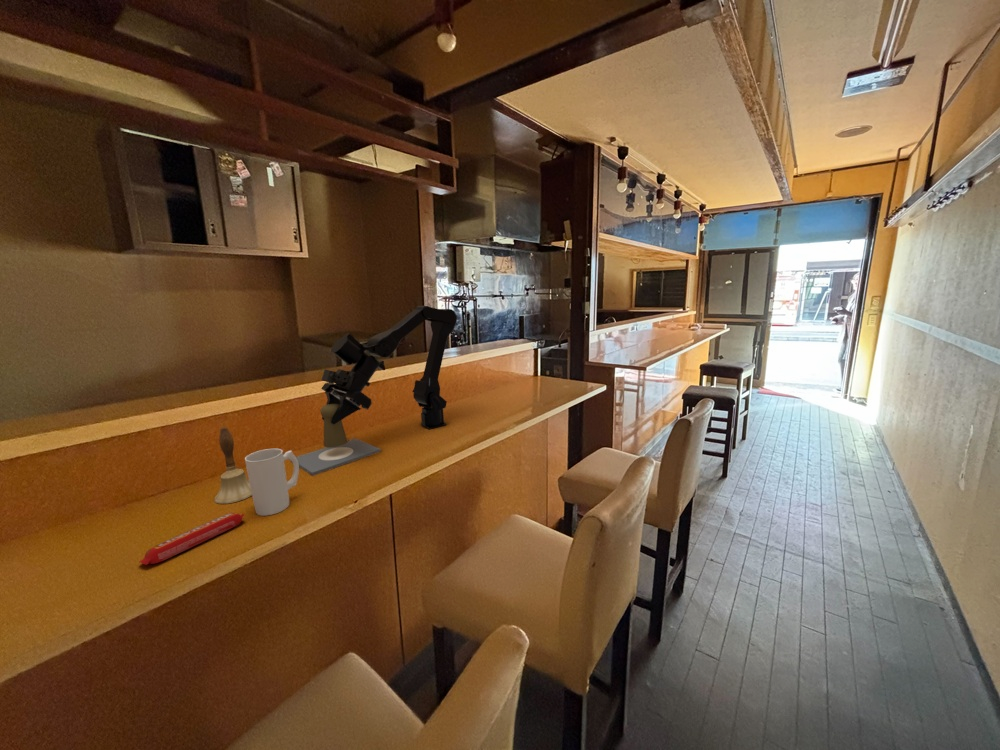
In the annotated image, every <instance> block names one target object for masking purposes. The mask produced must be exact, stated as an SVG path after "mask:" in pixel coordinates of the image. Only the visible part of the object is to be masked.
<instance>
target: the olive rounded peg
mask: <svg viewBox="0 0 1000 750" xmlns="http://www.w3.org/2000/svg"><path fill="white" fill-rule="evenodd" d="M338 407H339V405H338V404H328V405H326V404H325V405H323V406H322V407H321V409H320V415H321V418H322V417H323V418H324V420H323V446H324V448H326V447H338V446H341V445H344V444H346V443H347V441H348V438H347V435H346V432H345V428H344V424H343V421H342V420H340V421H339V422H337V423H336V424H332V423H331V420H332V418H333V416H334V414H335V412H336V410H337V409H338Z"/></svg>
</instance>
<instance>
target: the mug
mask: <svg viewBox="0 0 1000 750" xmlns="http://www.w3.org/2000/svg"><path fill="white" fill-rule="evenodd" d="M296 457H297V456H296V455H295V454H294V453H293V450H288V451H286V452H284V450H283V449H281V448H277V447H276V448H267V449H260V450H257V451H254V452H252V453H250V454H247V455H246V456H245V457H244V461H245V467H246V473H247V476H248V478H247V479H248V481H249V482H250V487H251V492H252V496H251V497H252V501H253V506H254V509H255V513H256V515H258V516H265V517H266V516H272V515H275V514H279V513H281V512H283V511H285V510H286V509H287V508H288V507H289V506H290V496H289V490H290V489H291V488H294V487H295V486H297V484H298V479H299V474H300V467H299V463H298V460H297V459H296ZM287 460H289V461H290V460H291V461H292V462H291V461H290V462H291V463H292V464H293V465H292V466H293V472H292V476H291V478H290V479H289V480H287V474H286V466H285V461H287Z"/></svg>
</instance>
